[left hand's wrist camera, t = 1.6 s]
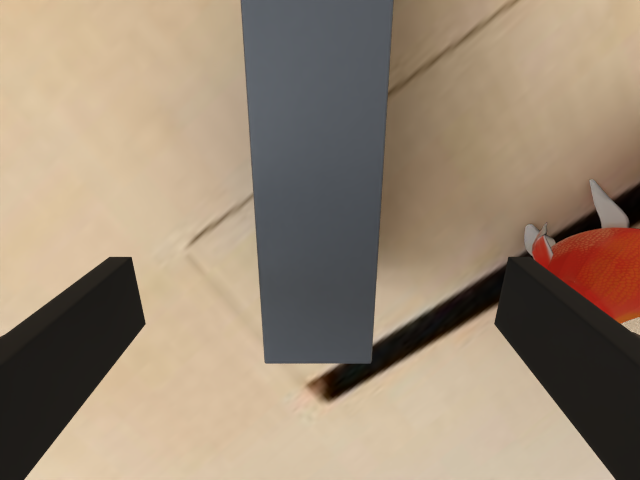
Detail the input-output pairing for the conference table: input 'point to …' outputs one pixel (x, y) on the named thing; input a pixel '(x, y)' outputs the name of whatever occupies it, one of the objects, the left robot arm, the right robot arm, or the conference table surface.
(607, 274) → the fish
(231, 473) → the conference table surface
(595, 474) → the conference table surface
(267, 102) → the bar
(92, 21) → the conference table surface
